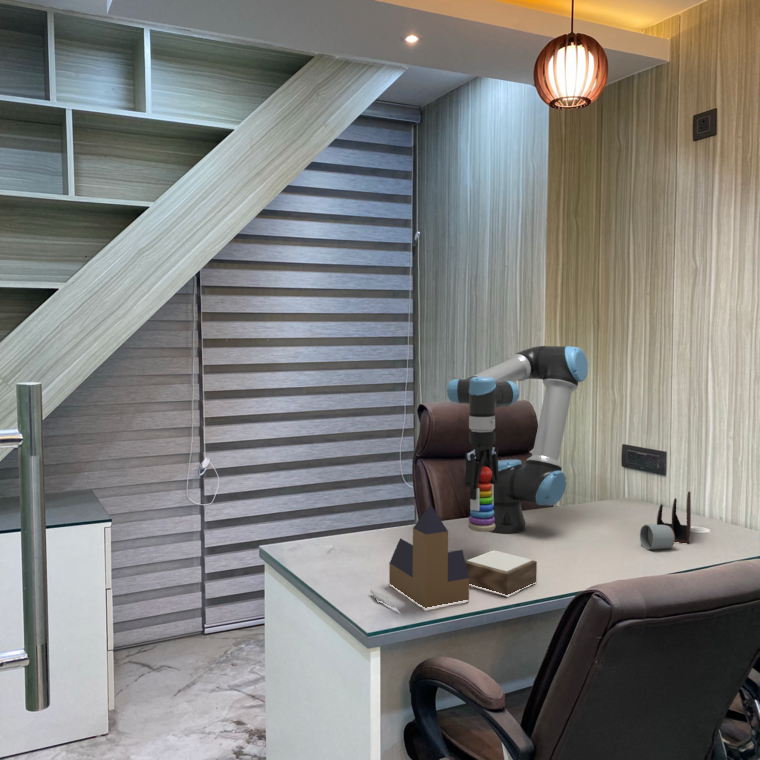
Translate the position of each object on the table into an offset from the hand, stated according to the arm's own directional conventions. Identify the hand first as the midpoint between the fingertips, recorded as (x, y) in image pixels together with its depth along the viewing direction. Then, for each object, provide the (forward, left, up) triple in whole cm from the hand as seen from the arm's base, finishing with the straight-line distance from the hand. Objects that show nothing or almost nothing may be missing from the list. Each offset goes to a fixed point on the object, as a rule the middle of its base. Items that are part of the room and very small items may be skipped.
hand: (482, 507), depth 210 cm
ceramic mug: (+33, +47, -16) cm, 59 cm away
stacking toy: (0, 0, -7) cm, 7 cm away
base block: (+16, -14, -15) cm, 26 cm away
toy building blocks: (+7, -33, -16) cm, 37 cm away
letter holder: (+32, +65, -16) cm, 74 cm away
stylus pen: (+4, -46, -16) cm, 49 cm away
